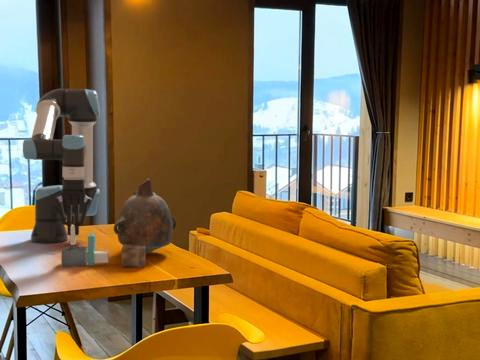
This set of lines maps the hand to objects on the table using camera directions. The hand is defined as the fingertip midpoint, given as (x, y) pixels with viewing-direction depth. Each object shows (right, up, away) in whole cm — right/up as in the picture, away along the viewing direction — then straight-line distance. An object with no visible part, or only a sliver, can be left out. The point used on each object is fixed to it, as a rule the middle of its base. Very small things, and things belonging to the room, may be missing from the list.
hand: (73, 244), depth 228 cm
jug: (+22, -6, +22) cm, 32 cm away
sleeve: (0, -8, +1) cm, 8 cm away
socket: (+21, -8, +3) cm, 23 cm away
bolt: (+4, -7, +1) cm, 8 cm away
